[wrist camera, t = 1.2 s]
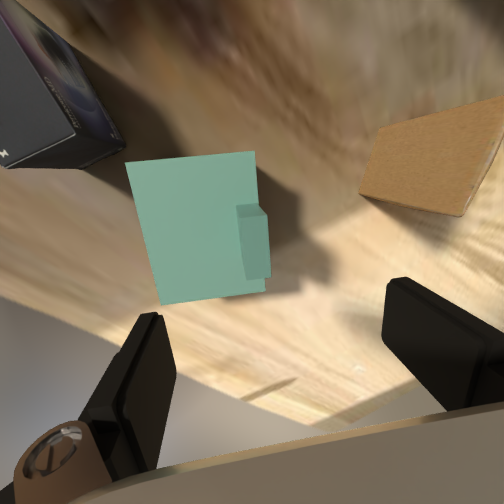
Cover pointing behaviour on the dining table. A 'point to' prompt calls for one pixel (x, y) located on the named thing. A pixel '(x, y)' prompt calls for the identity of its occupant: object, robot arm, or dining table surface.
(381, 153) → the sandwich container
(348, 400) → the dining table surface
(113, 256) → the dining table surface
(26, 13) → the small box
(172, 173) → the lid
